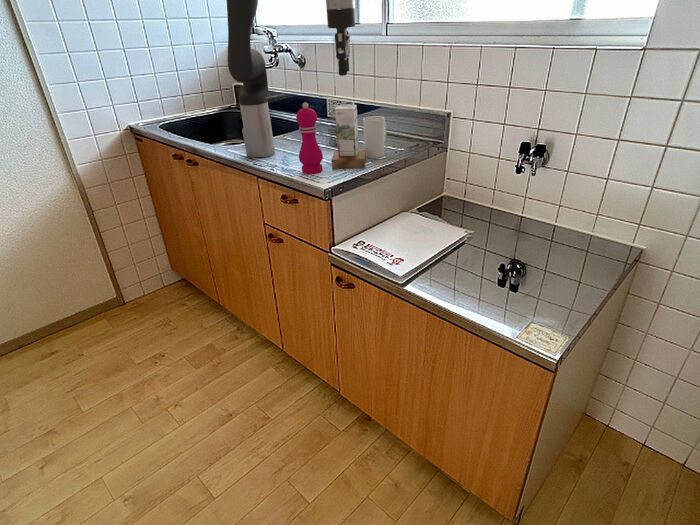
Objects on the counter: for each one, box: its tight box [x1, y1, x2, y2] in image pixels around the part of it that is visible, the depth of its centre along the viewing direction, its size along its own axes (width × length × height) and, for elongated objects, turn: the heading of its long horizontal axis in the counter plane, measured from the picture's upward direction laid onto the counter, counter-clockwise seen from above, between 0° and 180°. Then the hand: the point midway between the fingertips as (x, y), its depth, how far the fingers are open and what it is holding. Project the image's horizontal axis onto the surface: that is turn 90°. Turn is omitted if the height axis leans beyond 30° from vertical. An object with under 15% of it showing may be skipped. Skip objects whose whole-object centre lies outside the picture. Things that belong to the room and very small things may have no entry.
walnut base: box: [331, 149, 367, 171], centre depth 133 cm, size 10×10×3 cm
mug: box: [362, 115, 387, 160], centre depth 138 cm, size 10×7×12 cm, turn 141°
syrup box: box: [334, 104, 360, 157], centre depth 129 cm, size 6×6×14 cm
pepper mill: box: [296, 102, 324, 175], centre depth 125 cm, size 7×7×20 cm
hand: (344, 73), depth 121 cm, fingers open, 8 cm apart
